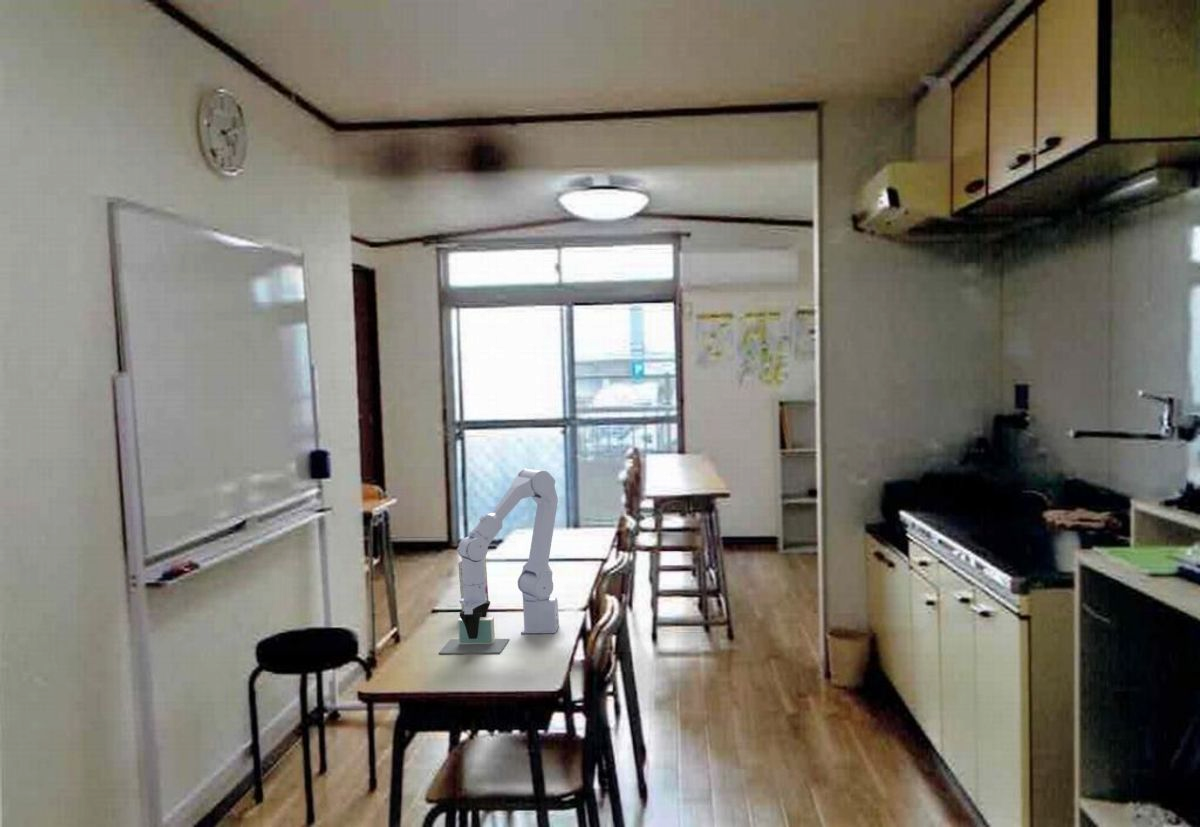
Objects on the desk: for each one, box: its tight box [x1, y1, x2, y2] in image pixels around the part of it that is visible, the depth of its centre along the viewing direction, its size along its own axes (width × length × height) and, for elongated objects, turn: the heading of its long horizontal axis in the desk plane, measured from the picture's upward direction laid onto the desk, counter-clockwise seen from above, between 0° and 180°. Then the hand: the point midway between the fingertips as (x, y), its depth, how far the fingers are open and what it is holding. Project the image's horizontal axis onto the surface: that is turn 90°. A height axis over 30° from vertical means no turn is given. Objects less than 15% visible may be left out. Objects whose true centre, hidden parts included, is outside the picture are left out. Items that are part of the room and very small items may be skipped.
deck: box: [457, 616, 496, 644], centre depth 231 cm, size 9×2×6 cm, turn 84°
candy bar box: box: [458, 555, 489, 611], centre depth 262 cm, size 11×5×16 cm, turn 168°
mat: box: [438, 638, 510, 655], centre depth 229 cm, size 16×11×1 cm
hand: (476, 633), depth 232 cm, fingers open, 7 cm apart
